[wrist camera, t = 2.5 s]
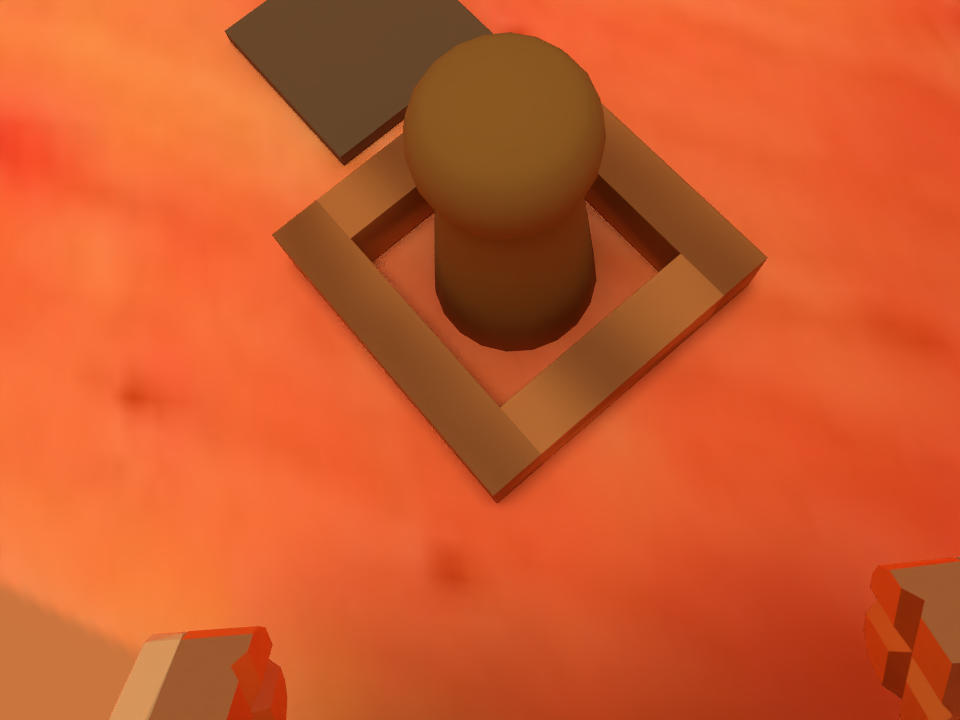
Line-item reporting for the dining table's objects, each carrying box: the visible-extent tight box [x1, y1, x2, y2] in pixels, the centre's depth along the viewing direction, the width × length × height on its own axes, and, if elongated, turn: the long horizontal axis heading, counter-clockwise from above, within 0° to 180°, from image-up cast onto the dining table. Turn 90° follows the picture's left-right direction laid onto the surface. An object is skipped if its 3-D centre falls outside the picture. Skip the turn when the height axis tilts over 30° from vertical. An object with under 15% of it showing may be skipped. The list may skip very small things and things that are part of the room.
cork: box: [403, 33, 606, 351], centre depth 24 cm, size 6×6×11 cm
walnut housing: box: [272, 35, 767, 503], centre depth 28 cm, size 12×12×2 cm
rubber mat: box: [225, 0, 493, 165], centre depth 32 cm, size 8×8×1 cm
